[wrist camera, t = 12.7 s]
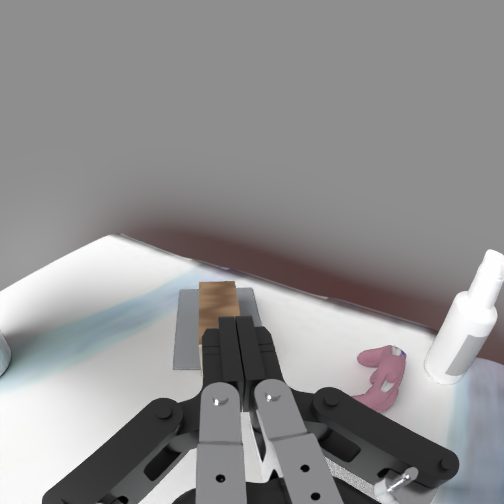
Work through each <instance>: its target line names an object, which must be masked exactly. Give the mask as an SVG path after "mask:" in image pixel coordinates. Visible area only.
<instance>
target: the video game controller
mask: <svg viewBox="0 0 504 504" xmlns="http://www.w3.org/2000/svg"><path fill="white" fill-rule="evenodd" d="M405 359H406V354H405V353H404V352H403V351H402V350H400V349H399V348H397V347H395V346H391V345H388V346H385V347H382V348H378V349H371V350H366V351H363V352H362V353H360V354H359V355H358V357H357V360H358V362H359V363H360V364H362V365H364V366H369V367H378V368H377V370H376V371H375V372H374V373H373V374H372V376H371V378H370V382H371V383H372V384H373V386H372V387H371V388H370V389H369V390H368V391H367V392H366V393H365V394H362V395H358V396H352V398H354V399H356V400H357V401H359V402H361V403H362V404H364V405H366V406H368V407H369V408H371V409H373V410H375V411H376V412H382V411H384V410H386V409H387V408H389V407H390V406H391V405H392V404H393V402H394V400H395V399H396V397H397V395H398V387H399V385H400V382H401V380H402V377H403V374H404V370H405Z"/></svg>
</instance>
